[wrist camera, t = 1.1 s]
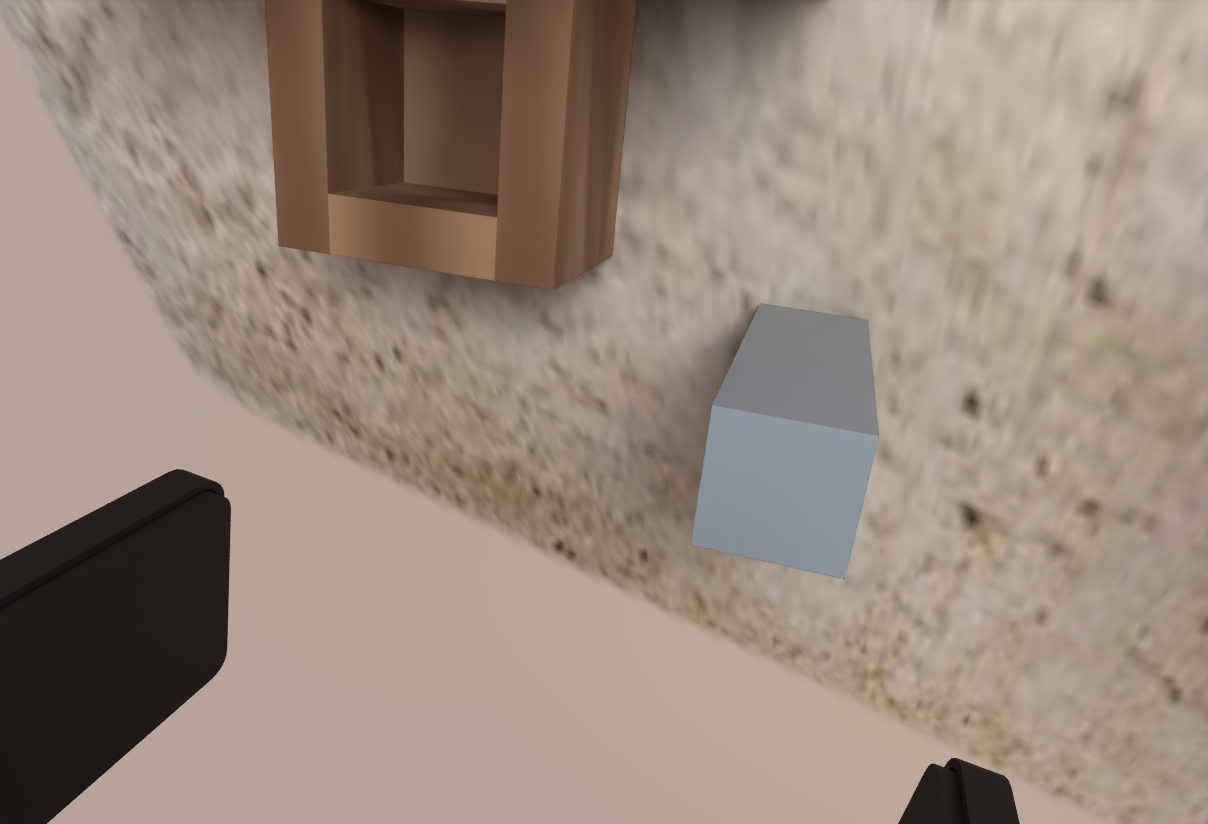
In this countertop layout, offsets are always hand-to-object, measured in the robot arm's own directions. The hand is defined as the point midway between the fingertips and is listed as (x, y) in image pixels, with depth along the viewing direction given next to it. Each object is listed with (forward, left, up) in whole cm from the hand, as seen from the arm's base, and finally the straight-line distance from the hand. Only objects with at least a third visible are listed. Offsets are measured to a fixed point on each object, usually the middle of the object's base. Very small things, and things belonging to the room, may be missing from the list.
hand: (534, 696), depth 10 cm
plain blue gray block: (-2, +2, -23) cm, 23 cm away
